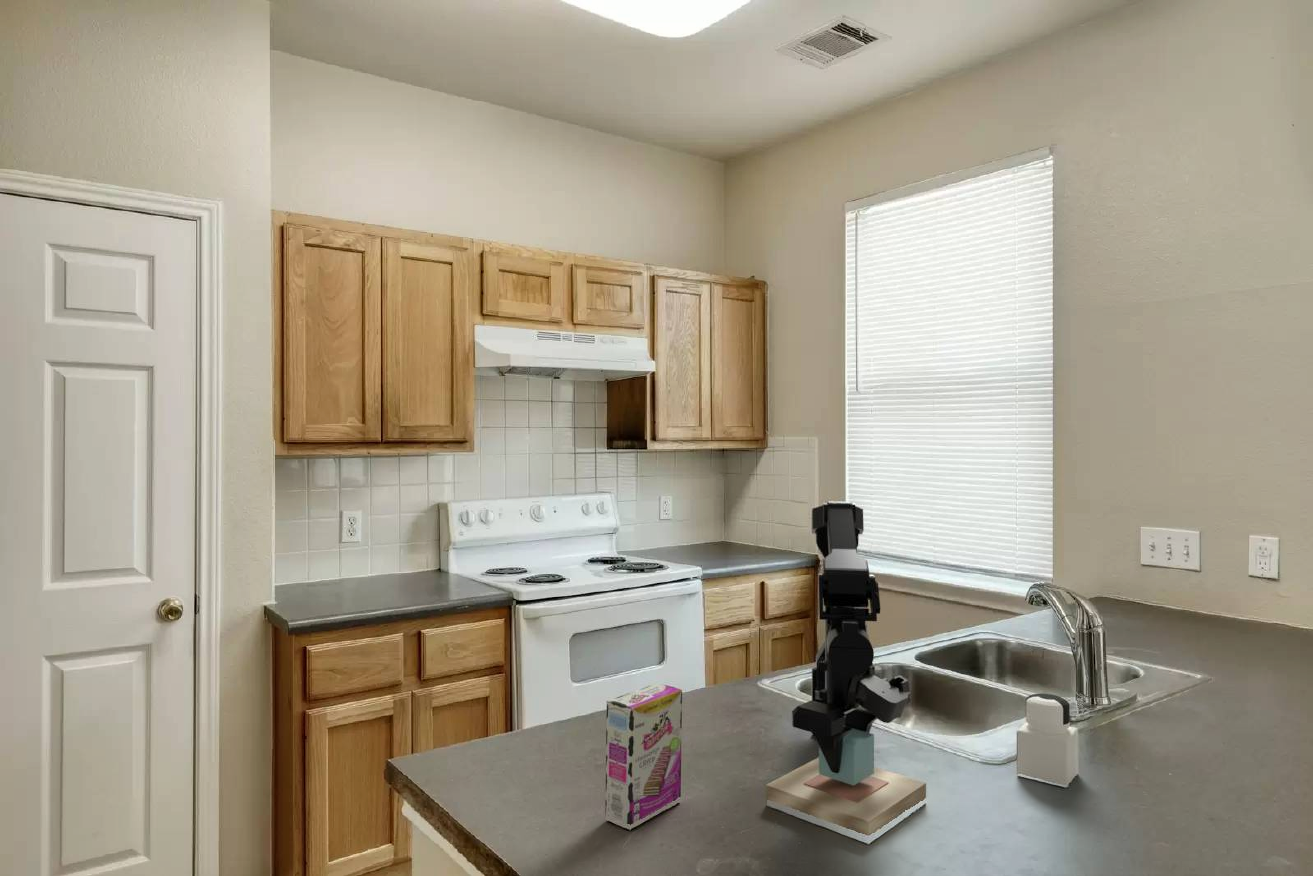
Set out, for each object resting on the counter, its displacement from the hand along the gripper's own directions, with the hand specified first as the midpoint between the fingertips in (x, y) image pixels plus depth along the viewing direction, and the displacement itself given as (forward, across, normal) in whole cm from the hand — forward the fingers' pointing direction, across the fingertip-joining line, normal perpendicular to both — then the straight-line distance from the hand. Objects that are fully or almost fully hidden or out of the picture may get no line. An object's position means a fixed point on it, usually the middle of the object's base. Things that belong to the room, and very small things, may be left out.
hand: (846, 766), depth 115 cm
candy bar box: (+6, -21, +19) cm, 29 cm away
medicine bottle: (+6, +30, -17) cm, 35 cm away
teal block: (+1, 0, 0) cm, 1 cm away
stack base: (+6, 0, 0) cm, 6 cm away
